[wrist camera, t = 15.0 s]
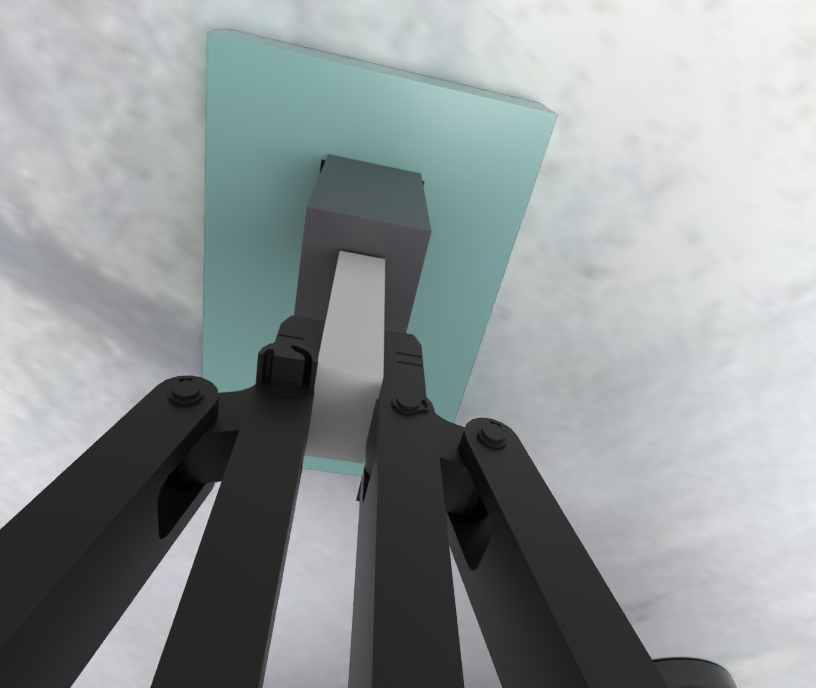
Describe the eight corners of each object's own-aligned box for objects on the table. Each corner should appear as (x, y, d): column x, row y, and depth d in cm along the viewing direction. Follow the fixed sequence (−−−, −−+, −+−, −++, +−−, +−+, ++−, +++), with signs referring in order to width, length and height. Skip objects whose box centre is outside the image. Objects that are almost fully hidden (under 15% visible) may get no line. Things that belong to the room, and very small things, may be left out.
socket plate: (429, 451, 36) (432, 485, 33) (215, 421, 34) (201, 455, 31) (540, 103, 24) (558, 114, 22) (227, 29, 23) (207, 32, 20)
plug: (396, 254, 28) (400, 358, 20) (320, 239, 27) (290, 340, 19) (417, 157, 25) (431, 231, 17) (334, 139, 25) (306, 206, 17)
